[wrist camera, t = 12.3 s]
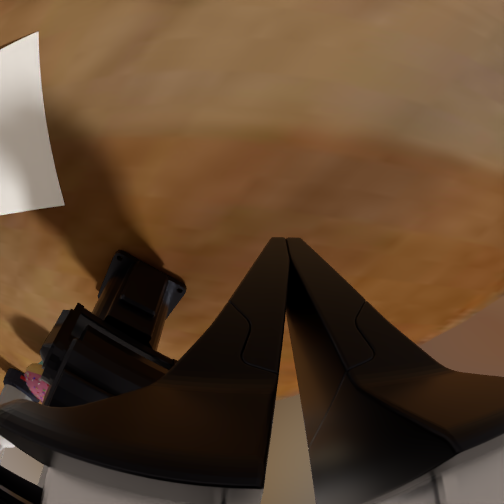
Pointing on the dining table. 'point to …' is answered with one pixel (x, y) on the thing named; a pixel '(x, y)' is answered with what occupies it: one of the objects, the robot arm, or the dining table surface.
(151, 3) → the dining table surface
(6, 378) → the humidifier
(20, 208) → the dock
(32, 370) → the cupcake
